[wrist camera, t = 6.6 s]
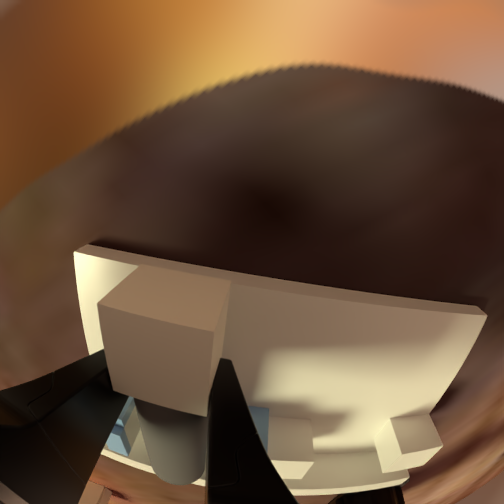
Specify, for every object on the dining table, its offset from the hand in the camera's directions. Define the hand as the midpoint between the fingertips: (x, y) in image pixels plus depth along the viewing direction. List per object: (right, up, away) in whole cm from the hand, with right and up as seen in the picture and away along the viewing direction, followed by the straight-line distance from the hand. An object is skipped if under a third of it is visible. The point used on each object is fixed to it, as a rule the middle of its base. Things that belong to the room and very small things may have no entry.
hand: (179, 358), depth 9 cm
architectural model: (-19, -27, +14) cm, 36 cm away
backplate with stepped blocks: (+4, -3, +3) cm, 6 cm away
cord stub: (0, -2, +1) cm, 2 cm away
